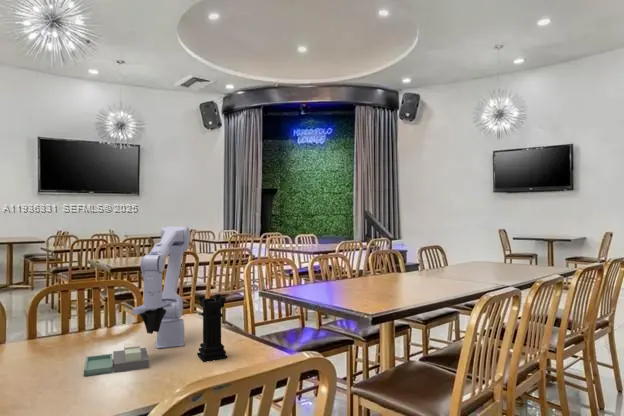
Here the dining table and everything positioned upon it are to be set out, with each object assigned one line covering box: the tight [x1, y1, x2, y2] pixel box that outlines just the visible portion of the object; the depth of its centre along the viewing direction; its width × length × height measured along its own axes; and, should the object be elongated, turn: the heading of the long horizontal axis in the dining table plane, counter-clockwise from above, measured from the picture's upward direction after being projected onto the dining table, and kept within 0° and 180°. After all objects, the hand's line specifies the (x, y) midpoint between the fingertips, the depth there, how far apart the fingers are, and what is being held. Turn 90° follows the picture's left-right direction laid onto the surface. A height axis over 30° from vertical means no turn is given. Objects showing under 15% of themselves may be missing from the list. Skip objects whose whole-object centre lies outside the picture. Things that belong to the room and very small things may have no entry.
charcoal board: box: [112, 347, 150, 374], centre depth 145 cm, size 10×14×2 cm
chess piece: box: [196, 293, 228, 363], centre depth 152 cm, size 8×8×20 cm
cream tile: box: [123, 342, 141, 354], centre depth 148 cm, size 4×4×2 cm
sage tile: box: [125, 347, 141, 362], centre depth 142 cm, size 4×4×2 cm
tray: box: [83, 353, 114, 377], centre depth 142 cm, size 8×14×2 cm, turn 24°
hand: (153, 332), depth 151 cm, fingers closed
